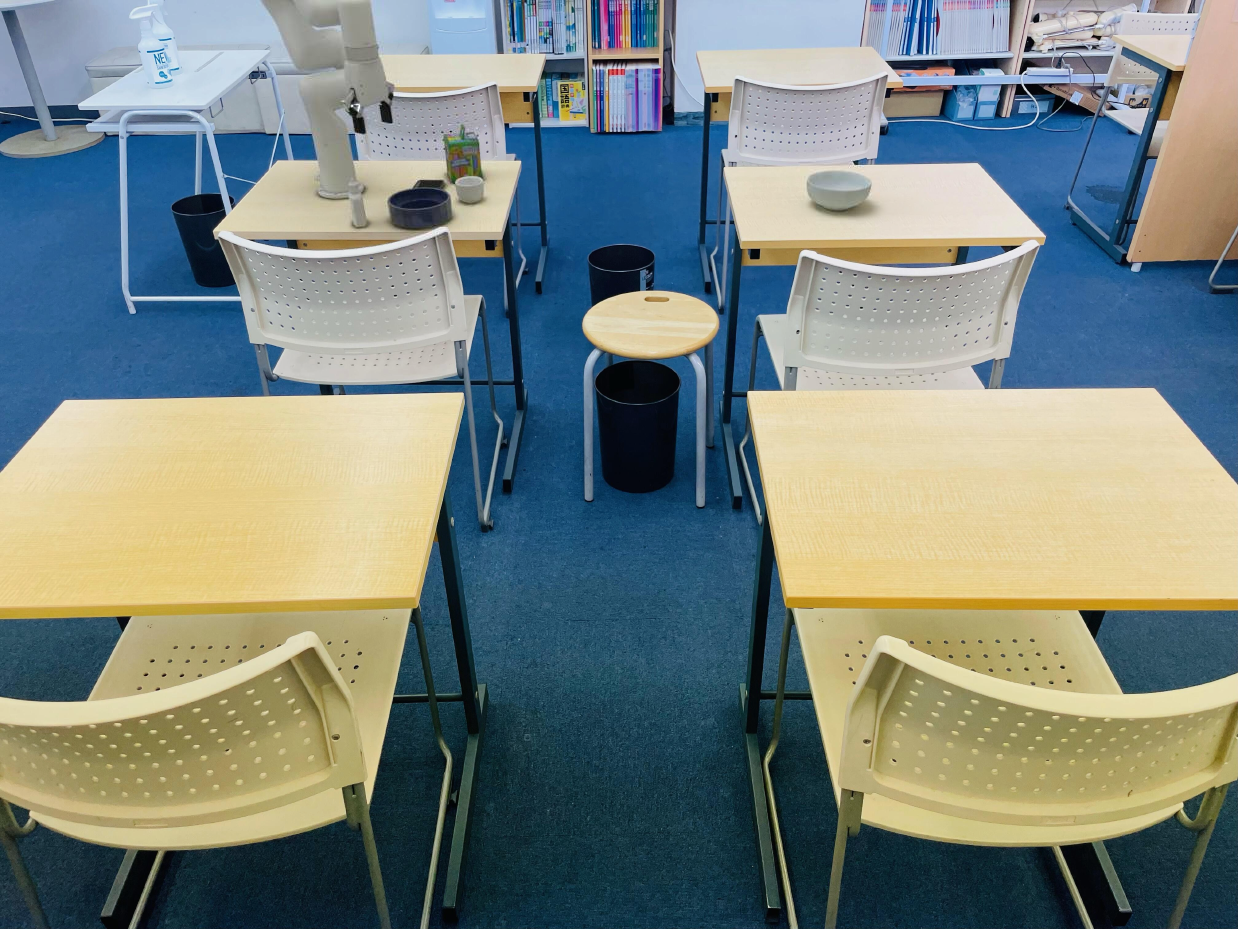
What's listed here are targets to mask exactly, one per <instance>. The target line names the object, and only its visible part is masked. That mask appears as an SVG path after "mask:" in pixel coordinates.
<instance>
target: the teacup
mask: <svg viewBox="0 0 1238 929" xmlns="http://www.w3.org/2000/svg"><path fill="white" fill-rule="evenodd" d="M454 186H455V192H456V195H457V197H458V199H459V200H460V201H461V202H463V203H465V204H474V203H478V202H480V201H481V200H482V199H483V196H484V192H485V183H484V179H483V177H482V178H480V177H475V176H468V177H462V178H459V179H457V180H456V181H455V183H454Z"/></svg>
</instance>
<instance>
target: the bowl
mask: <svg viewBox="0 0 1238 929" xmlns="http://www.w3.org/2000/svg"><path fill="white" fill-rule="evenodd" d="M386 201H387V209H388V214H389V215H388V216H389V220H390V221H391V223H392V224H394V225H396V226H398V227H402V228H408V229H425V228H432V227H435V226H439V225H443V224H445V223H447V222H448V221H449V220H451V218H453V214H454V213H453V206H452V204H453V203H452V197H451V194H450V193H449V192H448V191H447V190H445V189H437V188H428V187H424V188H413V187H412V188H406V189H403V190H399V191H397V192H395V193H392V194H391V195H390V196H388V197H387V200H386Z"/></svg>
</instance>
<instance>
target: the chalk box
mask: <svg viewBox="0 0 1238 929" xmlns="http://www.w3.org/2000/svg"><path fill="white" fill-rule="evenodd" d="M479 141H480V140H479V138H478V136H477V135H476V134H475V132H474V131H470V132H469V131H468V132H466V127H465V125H464V124H463V123H461V124H460V130H459V132H458V133H447V134H445V133H444V134H443V143H444V144H443V145H444V156H445V163H446V164H445V165H446V173H447V175H448V177H449V179H450V181H451V183H452V184H455V181H456V180H457V179H459V178H462V177H468V176H475V177H480V178H482V179H483V172H482V160H481V151H480V150H481V148H480V142H479Z"/></svg>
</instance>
